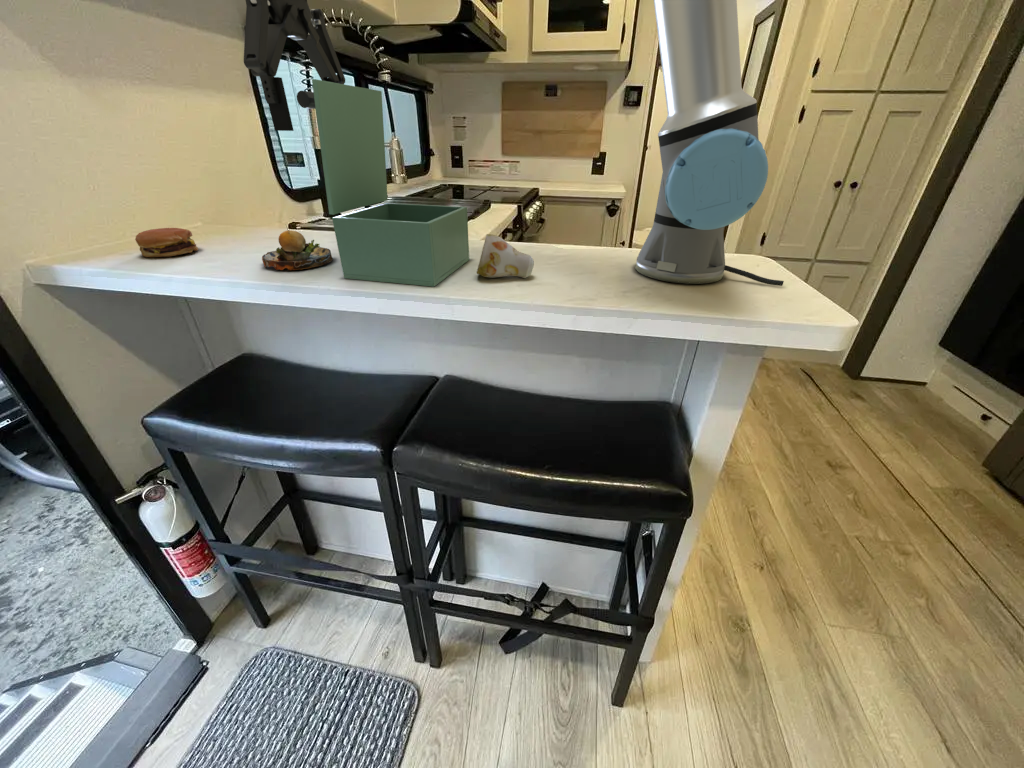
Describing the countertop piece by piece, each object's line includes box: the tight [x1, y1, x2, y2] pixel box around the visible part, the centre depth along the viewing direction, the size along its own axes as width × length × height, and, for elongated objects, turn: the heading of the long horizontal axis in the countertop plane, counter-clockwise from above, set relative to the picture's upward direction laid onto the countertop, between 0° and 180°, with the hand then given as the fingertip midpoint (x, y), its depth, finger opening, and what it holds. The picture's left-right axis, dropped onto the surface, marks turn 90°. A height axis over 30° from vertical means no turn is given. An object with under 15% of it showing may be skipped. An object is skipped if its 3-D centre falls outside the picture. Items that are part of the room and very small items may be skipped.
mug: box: [476, 233, 535, 279], centre depth 71 cm, size 8×10×10 cm
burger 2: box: [261, 224, 334, 271], centre depth 77 cm, size 12×12×8 cm
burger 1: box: [134, 227, 199, 258], centre depth 82 cm, size 10×9×5 cm
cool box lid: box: [296, 78, 389, 216], centre depth 69 cm, size 17×18×8 cm
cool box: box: [331, 202, 470, 287], centre depth 74 cm, size 17×18×10 cm
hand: (313, 131), depth 68 cm, fingers open, 13 cm apart
